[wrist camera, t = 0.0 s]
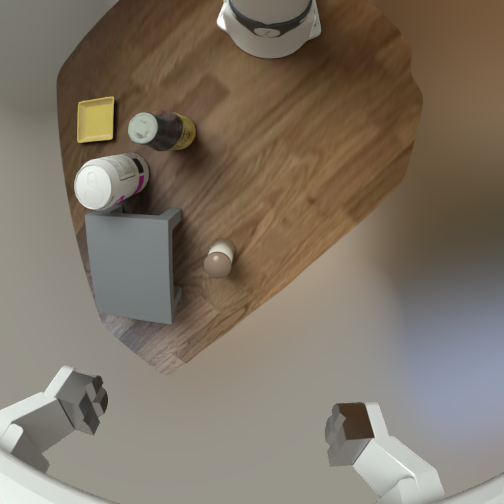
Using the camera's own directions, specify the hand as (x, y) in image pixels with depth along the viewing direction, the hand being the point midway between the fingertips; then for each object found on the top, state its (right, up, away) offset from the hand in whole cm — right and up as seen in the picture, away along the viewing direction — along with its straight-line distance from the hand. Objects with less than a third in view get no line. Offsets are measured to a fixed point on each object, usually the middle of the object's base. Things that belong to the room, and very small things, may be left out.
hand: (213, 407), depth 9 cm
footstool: (-20, +5, +50) cm, 55 cm away
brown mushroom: (-4, +6, +50) cm, 50 cm away
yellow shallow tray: (-29, +32, +41) cm, 59 cm away
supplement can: (-22, +20, +45) cm, 54 cm away
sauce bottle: (-11, +27, +42) cm, 51 cm away
